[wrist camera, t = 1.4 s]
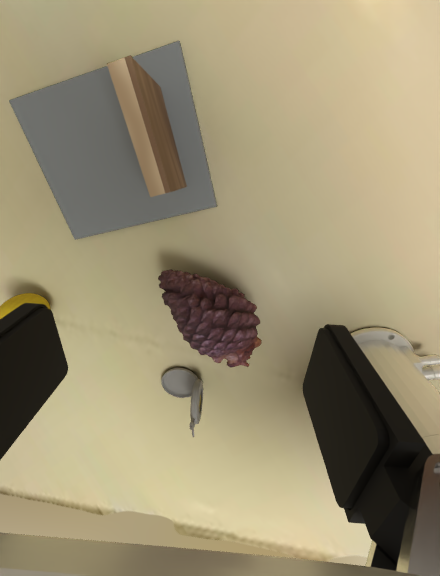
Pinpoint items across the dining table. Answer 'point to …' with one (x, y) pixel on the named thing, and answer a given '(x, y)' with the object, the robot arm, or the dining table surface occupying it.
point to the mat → (113, 147)
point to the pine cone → (211, 316)
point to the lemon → (21, 302)
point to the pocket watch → (185, 390)
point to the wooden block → (148, 126)
